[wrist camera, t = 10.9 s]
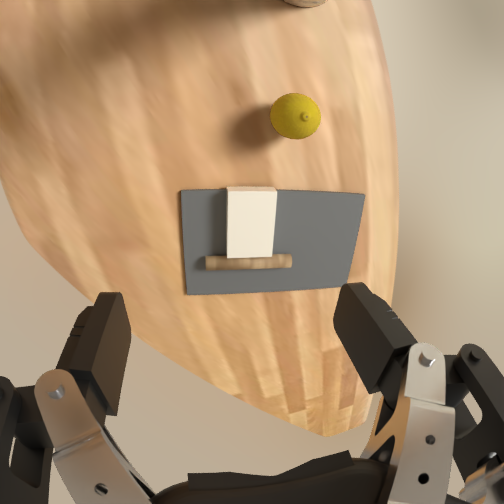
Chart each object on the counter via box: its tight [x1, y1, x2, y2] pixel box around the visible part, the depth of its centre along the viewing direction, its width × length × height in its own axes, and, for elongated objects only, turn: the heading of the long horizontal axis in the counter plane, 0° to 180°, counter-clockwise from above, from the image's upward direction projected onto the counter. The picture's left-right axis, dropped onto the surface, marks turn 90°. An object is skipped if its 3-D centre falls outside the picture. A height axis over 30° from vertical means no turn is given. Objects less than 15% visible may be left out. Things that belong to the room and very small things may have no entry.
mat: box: [181, 189, 365, 295], centre depth 41 cm, size 16×26×1 cm, turn 87°
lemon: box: [270, 93, 321, 139], centre depth 29 cm, size 6×6×8 cm
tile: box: [226, 186, 277, 258], centre depth 37 cm, size 2×6×9 cm
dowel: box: [205, 254, 292, 271], centre depth 40 cm, size 2×12×2 cm, turn 87°
